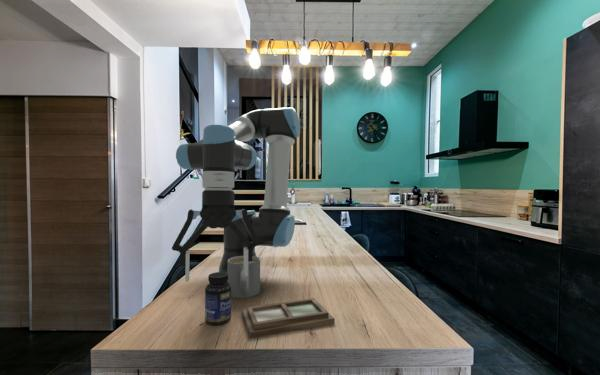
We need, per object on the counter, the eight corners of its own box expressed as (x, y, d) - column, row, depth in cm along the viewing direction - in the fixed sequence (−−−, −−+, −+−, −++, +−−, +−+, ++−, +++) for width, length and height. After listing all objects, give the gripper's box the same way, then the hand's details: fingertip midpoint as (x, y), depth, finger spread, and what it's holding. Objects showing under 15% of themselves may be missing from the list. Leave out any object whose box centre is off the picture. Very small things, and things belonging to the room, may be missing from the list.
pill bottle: (223, 327, 65) (224, 279, 65) (199, 324, 66) (200, 277, 66) (235, 315, 71) (235, 271, 71) (213, 313, 73) (213, 270, 73)
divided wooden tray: (242, 314, 72) (242, 305, 72) (315, 303, 78) (315, 295, 78) (250, 338, 61) (250, 327, 61) (334, 323, 67) (334, 314, 67)
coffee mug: (231, 286, 92) (231, 255, 92) (262, 286, 92) (262, 255, 92) (220, 302, 79) (220, 267, 79) (255, 303, 79) (255, 267, 79)
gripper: (159, 188, 61) (158, 287, 61) (272, 190, 69) (271, 276, 69) (164, 189, 68) (162, 277, 68) (265, 190, 77) (264, 268, 76)
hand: (217, 277), depth 69 cm, fingers open, 13 cm apart
